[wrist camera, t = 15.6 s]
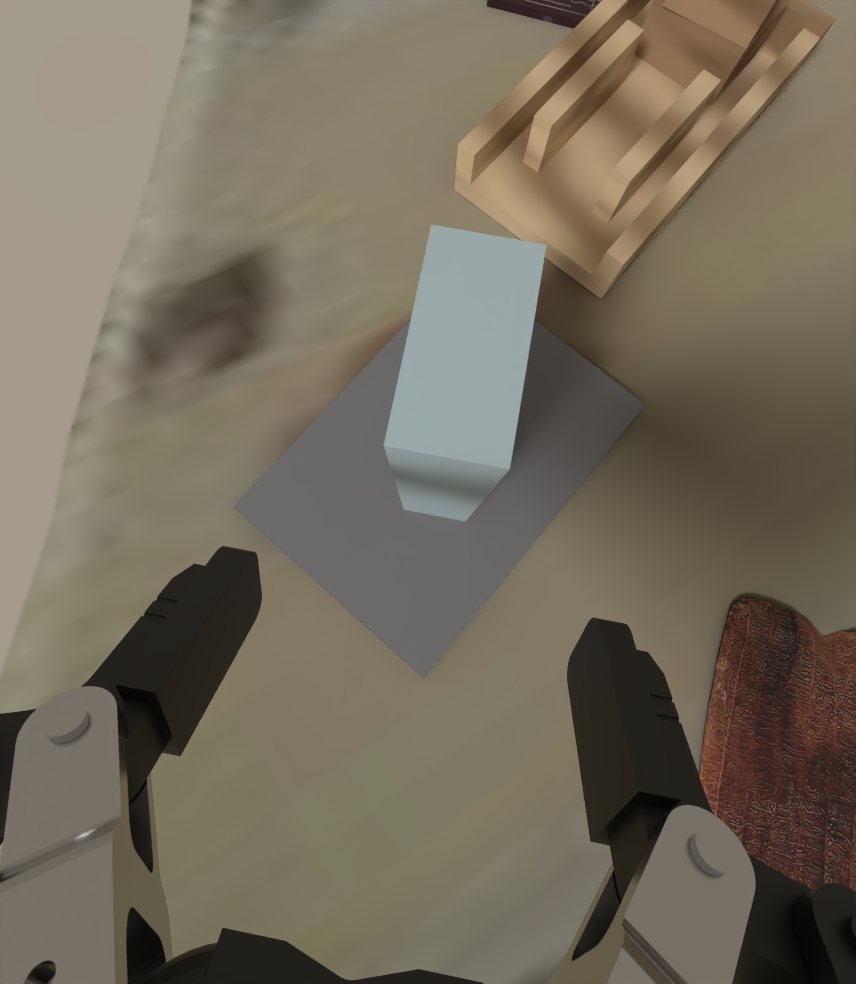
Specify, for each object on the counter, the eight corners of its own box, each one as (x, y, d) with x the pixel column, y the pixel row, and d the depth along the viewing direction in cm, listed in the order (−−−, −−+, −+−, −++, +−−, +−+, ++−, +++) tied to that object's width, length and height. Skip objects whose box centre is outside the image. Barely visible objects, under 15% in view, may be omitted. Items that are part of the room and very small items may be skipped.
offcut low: (674, 8, 31) (701, -52, 28) (752, 58, 30) (789, 2, 27) (631, 52, 30) (654, -4, 27) (711, 105, 29) (743, 53, 26)
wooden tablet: (875, 1262, 19) (662, 1225, 18) (824, 1190, 21) (632, 1154, 21) (921, 641, 24) (752, 591, 23) (875, 634, 26) (719, 588, 25)
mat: (461, 270, 28) (462, 264, 28) (640, 408, 27) (645, 404, 26) (237, 508, 26) (233, 506, 25) (423, 676, 24) (423, 678, 24)
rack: (649, -9, 32) (682, -94, 28) (789, 81, 31) (845, 6, 27) (454, 189, 29) (459, 127, 25) (601, 298, 28) (631, 251, 24)
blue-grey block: (427, 393, 26) (431, 224, 13) (486, 404, 26) (546, 244, 13) (403, 509, 25) (383, 445, 12) (465, 521, 25) (509, 469, 12)
